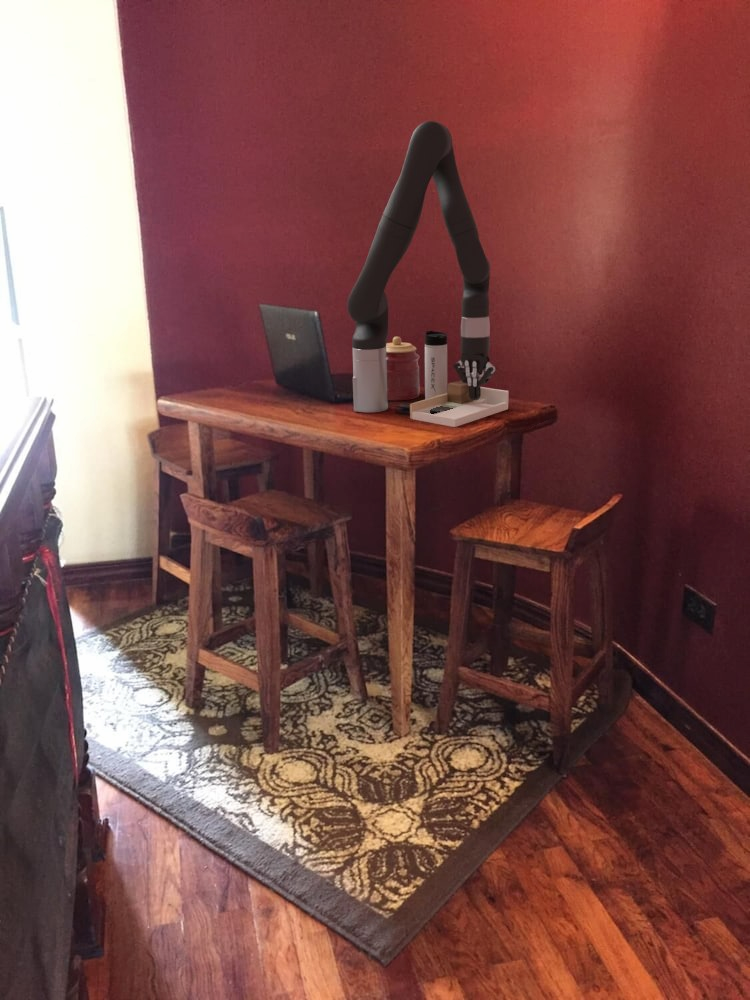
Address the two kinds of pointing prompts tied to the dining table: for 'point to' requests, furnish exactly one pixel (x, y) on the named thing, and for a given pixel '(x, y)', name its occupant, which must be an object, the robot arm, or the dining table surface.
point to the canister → (402, 371)
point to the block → (458, 392)
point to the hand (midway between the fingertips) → (474, 399)
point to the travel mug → (435, 364)
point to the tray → (460, 408)
